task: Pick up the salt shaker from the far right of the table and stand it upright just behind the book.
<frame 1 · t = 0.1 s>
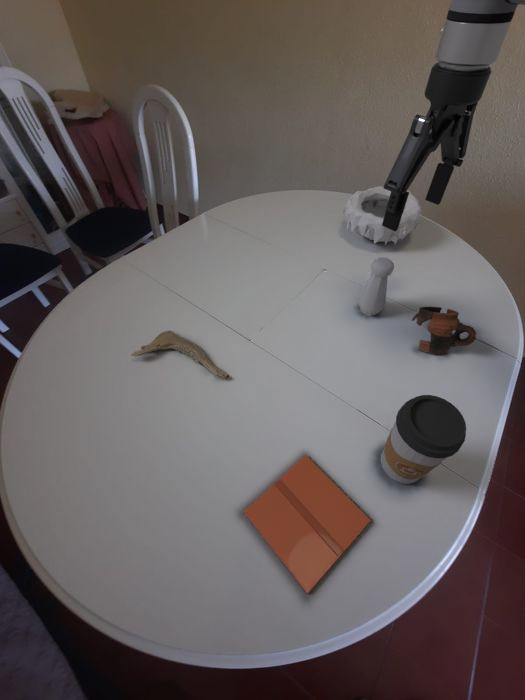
hand: (411, 214, 62), 22 cm above the table, tool pointing down, fingers open, 13 cm apart
pottery mug: (435, 340, 71), on the table
coffee cup: (399, 465, 54), on the table
curved driftwood piece: (180, 367, 68), on the table
salt shaker: (369, 310, 77), on the table
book: (306, 516, 49), on the table
bowl: (376, 234, 97), on the table
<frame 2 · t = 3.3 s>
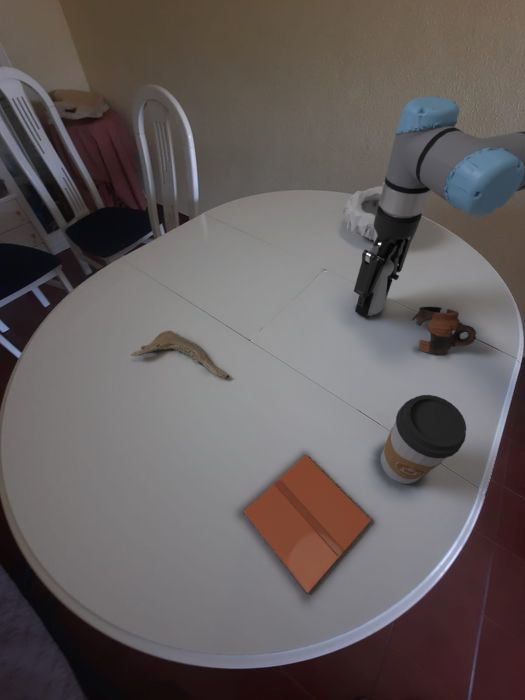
hand: (370, 307, 76), 1 cm above the table, tool pointing down, fingers closed on salt shaker, 6 cm apart
salt shaker: (369, 310, 77), on the table, touching gripper
everything else where it was.
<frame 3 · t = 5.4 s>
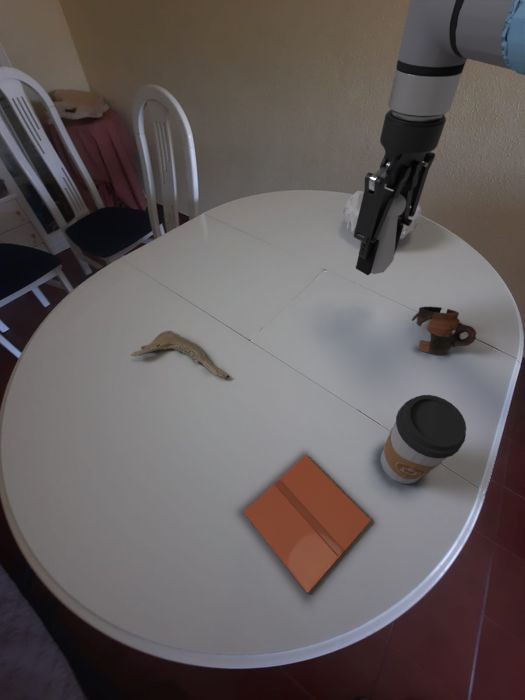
hand: (374, 263, 61), 16 cm above the table, tool pointing down, fingers closed on salt shaker, 6 cm apart
salt shaker: (373, 268, 62), point 15 cm above the table, touching gripper
everything else where it was.
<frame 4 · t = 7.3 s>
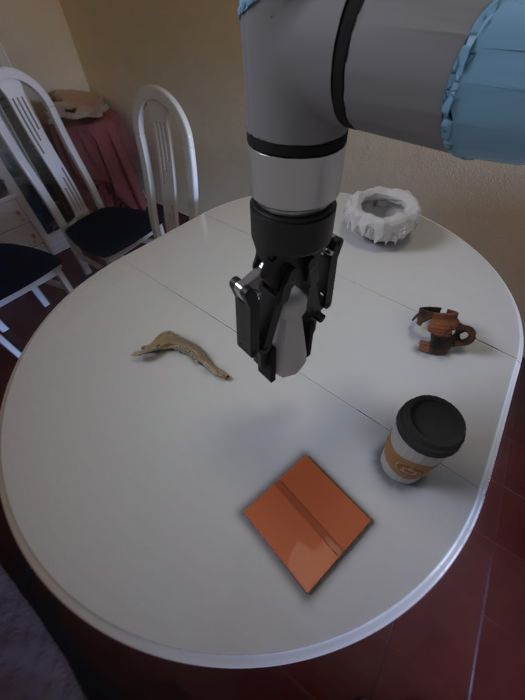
hand: (284, 362, 47), 17 cm above the table, tool pointing down, fingers closed on salt shaker, 6 cm apart
salt shaker: (284, 366, 47), point 16 cm above the table, touching gripper
everything else where it was.
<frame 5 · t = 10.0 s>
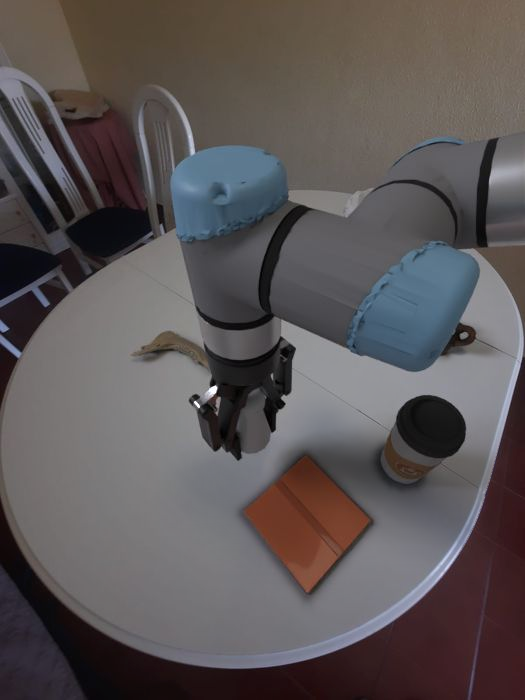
hand: (251, 438, 50), 7 cm above the table, tool pointing down, fingers closed on salt shaker, 6 cm apart
salt shaker: (251, 441, 51), point 6 cm above the table, touching gripper
everything else where it was.
when the fingers open (1 cm above the table, at t = 11.8 s): salt shaker stays where it is, on the table.
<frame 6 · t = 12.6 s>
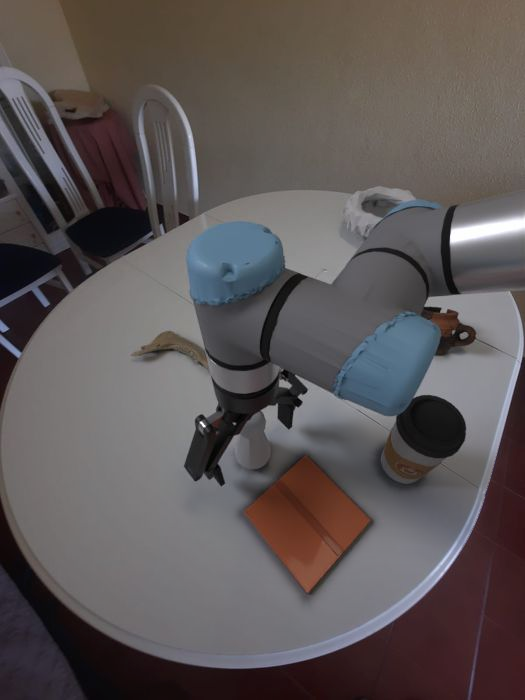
hand: (253, 449, 53), 3 cm above the table, tool pointing down, fingers open, 13 cm apart
salt shaker: (253, 457, 56), on the table
everything else where it was.
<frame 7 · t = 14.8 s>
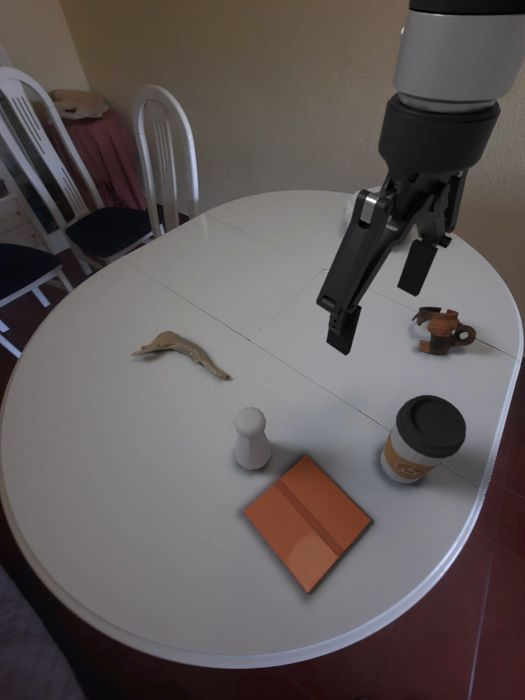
hand: (375, 317, 40), 26 cm above the table, tool pointing down, fingers open, 13 cm apart
nothing on the table moved.
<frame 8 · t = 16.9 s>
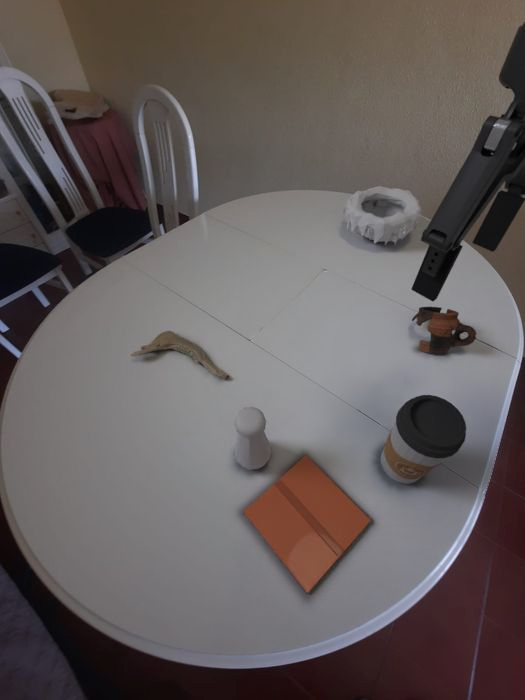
hand: (455, 268, 40), 29 cm above the table, tool pointing down, fingers open, 13 cm apart
nothing on the table moved.
at the end: salt shaker inside the target area on the table beside the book (0.7 cm from its centre), on the table; salt shaker tilted 0°; the gripper is holding nothing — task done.
